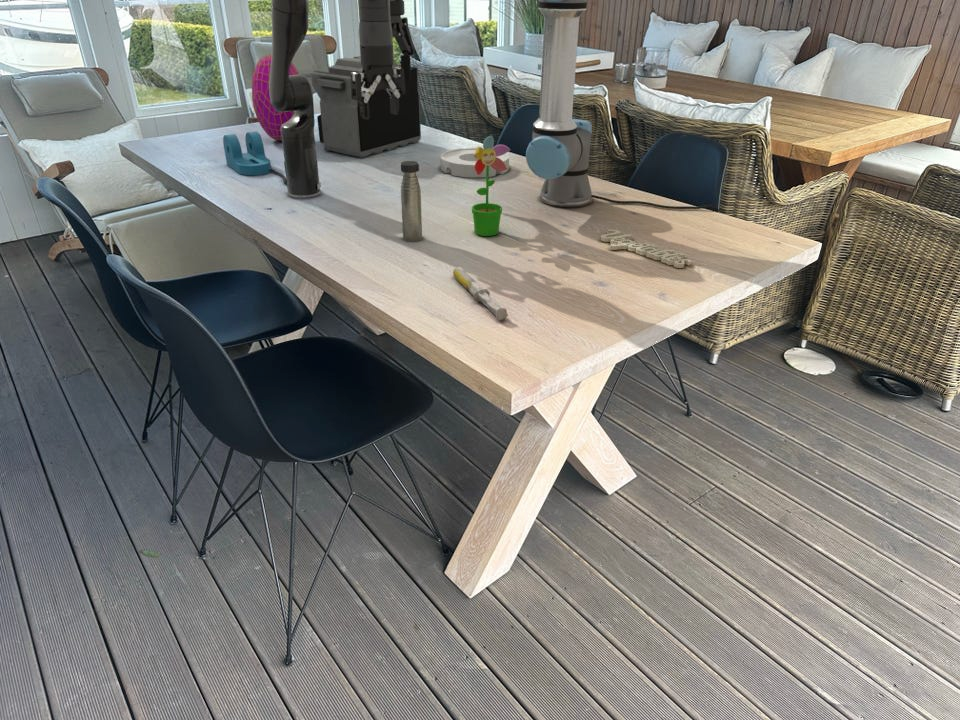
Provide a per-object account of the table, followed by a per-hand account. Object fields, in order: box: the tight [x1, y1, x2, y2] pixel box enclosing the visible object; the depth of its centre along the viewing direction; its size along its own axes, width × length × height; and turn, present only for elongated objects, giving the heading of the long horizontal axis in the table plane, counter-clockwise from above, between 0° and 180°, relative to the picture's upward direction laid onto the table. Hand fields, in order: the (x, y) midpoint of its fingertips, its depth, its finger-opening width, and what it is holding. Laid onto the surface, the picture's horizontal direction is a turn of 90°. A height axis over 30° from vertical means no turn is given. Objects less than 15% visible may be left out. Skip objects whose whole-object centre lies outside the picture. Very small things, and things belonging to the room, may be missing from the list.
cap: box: [400, 160, 420, 173], centre depth 166 cm, size 4×4×2 cm
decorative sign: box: [600, 229, 691, 269], centre depth 168 cm, size 26×1×10 cm
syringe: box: [452, 266, 509, 321], centre depth 145 cm, size 25×4×3 cm, turn 21°
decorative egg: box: [251, 54, 300, 142], centre depth 257 cm, size 19×19×30 cm
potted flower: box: [471, 135, 511, 237], centre depth 172 cm, size 9×8×25 cm
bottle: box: [400, 172, 423, 242], centre depth 170 cm, size 5×5×19 cm
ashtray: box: [439, 147, 510, 178], centre depth 231 cm, size 23×23×4 cm
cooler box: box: [310, 55, 422, 159], centre depth 250 cm, size 37×22×30 cm, turn 144°
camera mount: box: [222, 131, 272, 176], centre depth 226 cm, size 18×10×10 cm, turn 35°
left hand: (380, 116), depth 164 cm, fingers open, 8 cm apart
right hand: (394, 83), depth 195 cm, fingers open, 13 cm apart
